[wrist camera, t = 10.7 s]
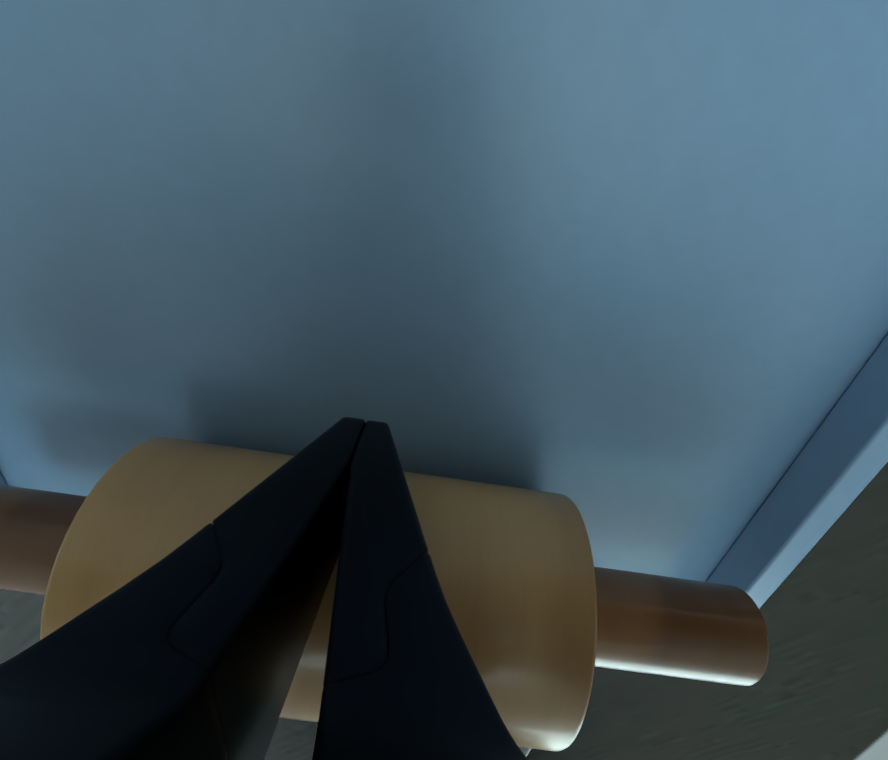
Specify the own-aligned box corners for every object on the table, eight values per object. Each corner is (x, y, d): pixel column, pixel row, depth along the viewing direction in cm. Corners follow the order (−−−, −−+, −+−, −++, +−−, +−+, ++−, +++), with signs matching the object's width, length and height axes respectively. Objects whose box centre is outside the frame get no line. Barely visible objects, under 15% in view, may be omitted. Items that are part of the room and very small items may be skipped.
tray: (684, 622, 16) (703, 674, 14) (25, 534, 15) (-19, 579, 14) (1356, -275, 6) (1636, -387, 4) (-588, -710, 5) (-1007, -1021, 3)
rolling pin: (657, 596, 14) (737, 817, 10) (54, 514, 13) (-137, 713, 9) (738, 475, 11) (894, 706, 7) (-10, 365, 11) (-321, 549, 7)
